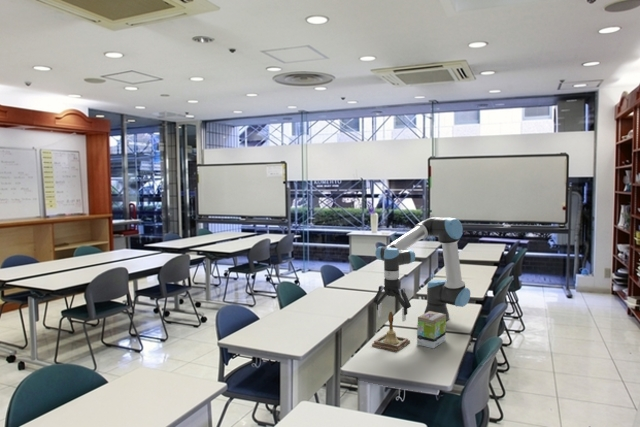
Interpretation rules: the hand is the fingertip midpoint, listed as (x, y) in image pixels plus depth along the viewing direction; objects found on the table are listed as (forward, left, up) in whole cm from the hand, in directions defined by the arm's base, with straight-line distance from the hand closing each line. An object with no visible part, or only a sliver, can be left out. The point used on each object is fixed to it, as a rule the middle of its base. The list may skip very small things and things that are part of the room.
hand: (391, 318), depth 231 cm
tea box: (-14, +16, -14) cm, 25 cm away
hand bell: (0, 0, -13) cm, 13 cm away
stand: (0, 0, -14) cm, 14 cm away
